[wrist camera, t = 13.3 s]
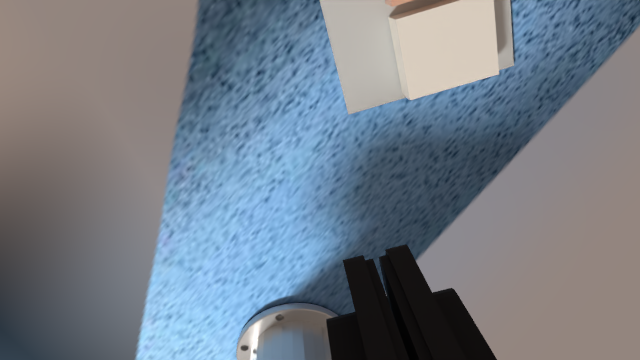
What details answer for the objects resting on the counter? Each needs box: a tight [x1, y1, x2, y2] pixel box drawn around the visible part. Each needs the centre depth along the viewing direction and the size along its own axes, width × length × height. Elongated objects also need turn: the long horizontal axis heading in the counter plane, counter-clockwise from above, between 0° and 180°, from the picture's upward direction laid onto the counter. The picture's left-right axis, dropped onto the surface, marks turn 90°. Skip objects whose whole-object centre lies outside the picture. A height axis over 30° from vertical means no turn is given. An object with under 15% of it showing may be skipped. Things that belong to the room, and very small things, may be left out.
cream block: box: [388, 0, 499, 100], centre depth 31 cm, size 6×2×7 cm
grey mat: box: [320, 0, 514, 114], centre depth 31 cm, size 14×14×1 cm
